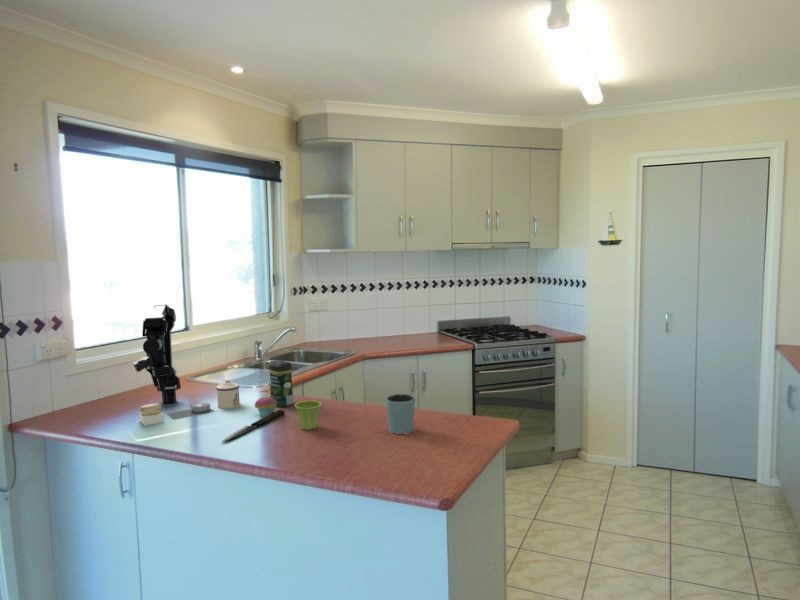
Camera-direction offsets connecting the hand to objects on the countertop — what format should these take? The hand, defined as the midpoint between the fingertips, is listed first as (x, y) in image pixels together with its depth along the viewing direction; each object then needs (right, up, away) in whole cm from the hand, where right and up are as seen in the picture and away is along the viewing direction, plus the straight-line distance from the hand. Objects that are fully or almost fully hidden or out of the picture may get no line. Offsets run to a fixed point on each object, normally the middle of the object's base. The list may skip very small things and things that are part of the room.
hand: (159, 389), depth 215 cm
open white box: (-1, -12, -4) cm, 13 cm away
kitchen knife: (+39, -13, -12) cm, 43 cm away
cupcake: (+41, -11, +3) cm, 42 cm away
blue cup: (+93, -12, -19) cm, 96 cm away
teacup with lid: (+22, -10, +17) cm, 30 cm away
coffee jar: (+44, -10, +18) cm, 48 cm away
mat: (+10, -11, +7) cm, 16 cm away
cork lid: (-1, -8, -4) cm, 9 cm away
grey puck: (+13, -10, +9) cm, 19 cm away
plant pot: (+60, -12, -13) cm, 63 cm away
